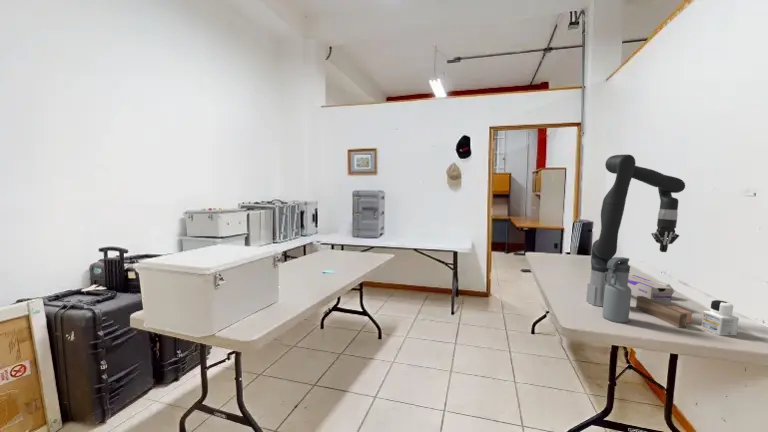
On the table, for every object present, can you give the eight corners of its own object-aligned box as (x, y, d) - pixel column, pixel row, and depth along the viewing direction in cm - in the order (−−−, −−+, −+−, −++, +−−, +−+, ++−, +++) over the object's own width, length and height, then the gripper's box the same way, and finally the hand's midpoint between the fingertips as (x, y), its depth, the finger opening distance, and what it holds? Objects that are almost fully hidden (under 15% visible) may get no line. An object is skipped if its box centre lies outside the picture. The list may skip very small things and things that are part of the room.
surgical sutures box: (614, 292, 195) (616, 274, 194) (632, 293, 196) (634, 275, 195) (649, 308, 170) (651, 287, 169) (670, 309, 171) (672, 288, 170)
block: (673, 322, 153) (674, 312, 152) (658, 315, 161) (659, 305, 160) (690, 323, 153) (692, 312, 153) (675, 316, 161) (676, 306, 161)
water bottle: (613, 323, 148) (620, 260, 146) (596, 315, 158) (602, 255, 155) (633, 323, 150) (640, 260, 147) (615, 314, 160) (621, 255, 157)
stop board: (678, 327, 147) (680, 314, 146) (635, 307, 171) (637, 295, 170) (685, 327, 147) (687, 314, 146) (641, 307, 171) (643, 296, 170)
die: (670, 297, 192) (659, 281, 195) (681, 294, 184) (669, 278, 188) (657, 302, 191) (646, 286, 195) (668, 299, 183) (656, 283, 187)
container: (700, 327, 148) (704, 298, 146) (717, 327, 148) (721, 298, 147) (719, 335, 140) (724, 305, 139) (736, 335, 141) (741, 305, 140)
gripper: (660, 218, 169) (656, 252, 171) (686, 219, 169) (682, 253, 171) (648, 217, 177) (644, 249, 178) (673, 218, 177) (669, 250, 178)
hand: (663, 251), depth 175 cm, fingers closed
